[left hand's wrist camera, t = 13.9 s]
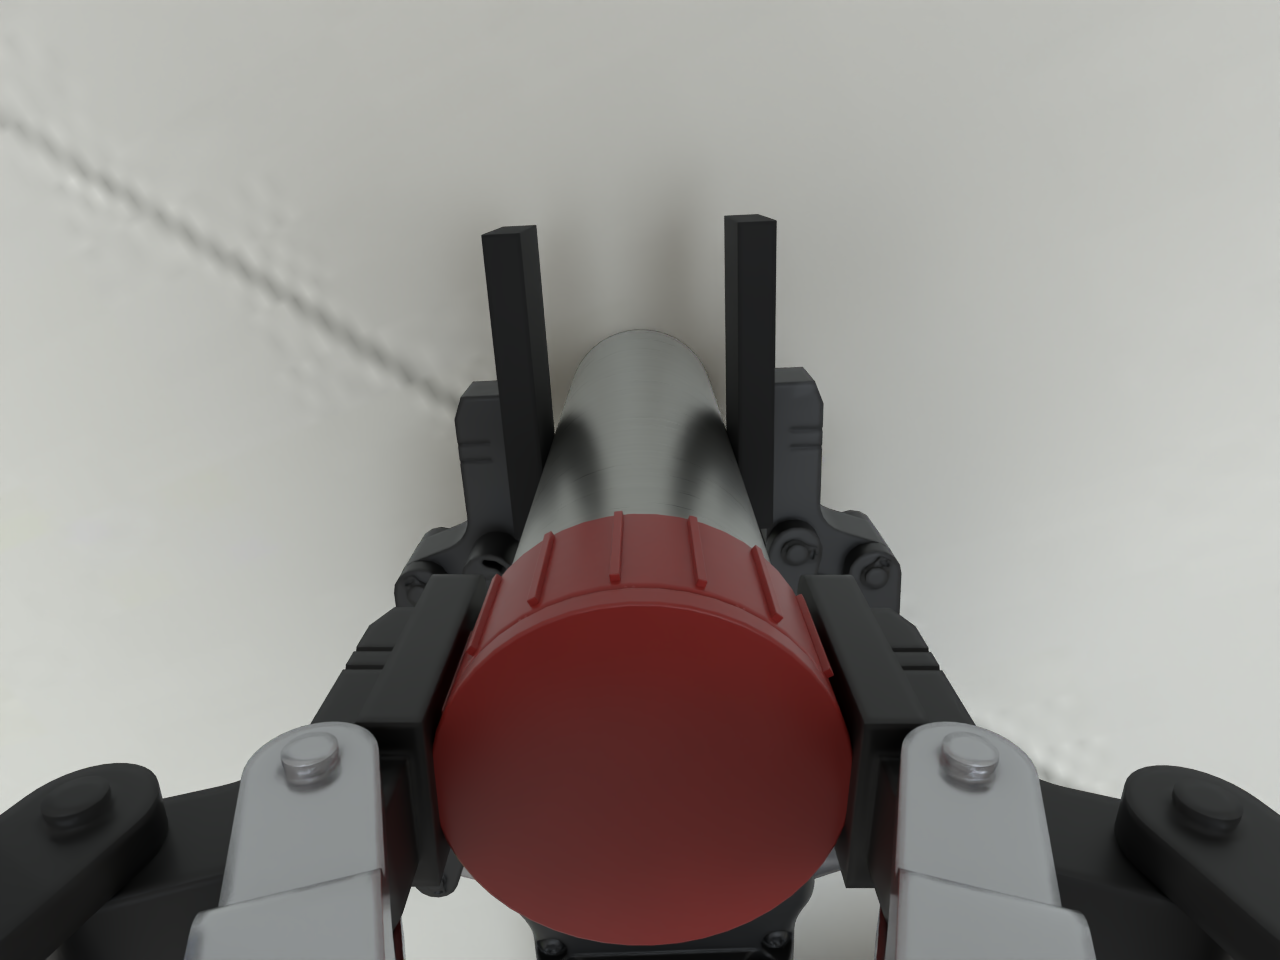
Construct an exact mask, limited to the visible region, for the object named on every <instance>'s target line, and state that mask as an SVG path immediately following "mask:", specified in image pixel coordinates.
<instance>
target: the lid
mask: <svg viewBox="0 0 1280 960" xmlns="http://www.w3.org/2000/svg"><path fill="white" fill-rule="evenodd" d="M833 675H834V674H833V671H832V669H831V666H830V663H829V661H828V658H827V656H826V653H825V651H824V648H823V645H822V643H821V640H820V638H819V635H818V632H817V630H816V627H815V625H814V622H813V619H812V617H811V614H810V612H809V609H808V606H807V604H806V601H805V599H804V597H803V595H802V594H799V595H797V596H796V595H795V594H794V592H793V590H792V588H791V587H790V586H789V584H788V583H787V582H786V580H785V579H784V578H783V577H782V575H781V574H780V573H779V571H778V570H777V569H776V568H774V567H773V566H772V565H771V564H770V563H769V562H768V561H767V560H766V559H765V558H764V555H763V552H762V549H761V548H759V547H758V546H757V545H755V546H754V547H753V548H751V547H750V546H748V545H747V544H746V543H744V542H742V541H741V540H739V539H737V538H735V537H733V536H731V535H730V534H728V533H726V532H724V531H721V530H719V529H716V528H714V527H711V526H709V525H706V524H704V523H700V522H698V520H697V517H694V516H690V515H689V517H688V519H685V518H681V517H675V516H667V515H659V514H626V515H623V511H615V512H614V516H608V517H603V518H599V519H595V520H591V521H587V522H583V523H580V524H578V525H575V526H572V527H570V528H567V529H564V530H562V531H560V532H558V533H556V534H553V533H552V531H550V532H548V533H546V534H545V535H544V538H543V541H541V542H540V543H538V544H537V545H536V546H534V547H533V548H531V549H530V550H529V551H527V552H526V553H524V554H523V555H522V556H521V557H520V558H519V559H518V560H517V561H515V562H514V563H513V564H512V565H511V566H510V567H509V568H508V569H507V570H506V571H505V573H504V574H503V575H502V576H500V575H498V574H496V575H495V576H494V577H493V579H492V581H491V584H490V586H489V589H488V592H487V595H486V597H485V600H484V603H483V606H482V608H481V611H480V613H479V616H478V618H477V621H476V623H475V626H474V629H473V631H471V632H470V635H469V638H468V640H467V643H466V646H465V648H464V651H463V654H462V657H461V659H460V662H459V665H458V667H457V670H456V673H455V676H454V678H453V681H452V684H451V686H450V689H449V692H448V695H447V697H446V700H445V703H444V705H443V708H442V716H441V718H440V721H439V724H438V726H437V729H436V733H435V737H434V742H433V763H434V772H435V781H436V791H437V800H438V809H439V818H440V825H441V829H442V831H443V833H444V836H445V838H446V840H447V842H448V844H449V845H450V847H451V849H452V850H453V852H454V853H455V855H456V857H457V858H458V860H459V861H460V863H461V864H462V865H463V866H464V867H465V869H466V870H467V871H468V872H469V873H470V875H471V876H472V877H473V878H474V879H475V880H476V881H477V882H478V883H479V884H480V885H481V886H482V887H483V888H485V889H486V890H487V891H488V892H489V893H490V894H491V895H492V896H494V897H495V898H496V899H498V900H499V901H501V902H502V903H503V904H505V905H506V906H508V907H509V908H510V909H512V910H514V911H516V912H517V913H519V914H521V915H523V916H524V917H526V918H528V919H530V920H531V921H534V922H536V923H538V924H541V925H543V926H545V927H548V928H550V929H552V930H555V931H558V932H561V933H565V934H568V935H571V936H574V937H578V938H582V939H587V940H592V941H597V942H602V943H611V944H620V945H663V944H674V943H682V942H687V941H692V940H697V939H703V938H706V937H710V936H713V935H716V934H720V933H723V932H726V931H729V930H731V929H734V928H736V927H739V926H741V925H744V924H746V923H748V922H751V921H752V920H754V919H756V918H758V917H760V916H762V915H763V914H765V913H767V912H769V911H771V910H772V909H774V908H775V907H776V906H778V905H779V904H781V903H782V902H784V901H785V900H786V899H788V898H789V897H791V896H792V895H793V894H794V893H795V892H796V891H797V890H799V889H800V888H801V887H802V886H803V885H804V884H805V883H806V882H807V881H808V880H809V879H810V878H811V877H812V876H813V875H814V873H815V872H816V871H817V870H818V869H819V868H820V867H821V865H822V864H823V863H824V861H825V860H826V858H827V857H828V855H829V854H830V852H831V851H832V849H833V848H834V846H835V844H836V842H837V840H838V838H839V836H840V834H841V832H842V829H843V827H844V825H845V819H846V811H847V802H848V793H849V784H850V775H851V765H852V745H851V741H850V736H849V732H848V729H847V726H846V724H845V721H844V718H843V716H842V713H841V710H840V708H839V705H838V702H837V700H836V697H835V694H834V691H833V689H832V686H831V683H830V681H829V677H831V676H833Z"/></svg>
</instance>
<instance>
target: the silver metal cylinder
mask: <svg viewBox="0 0 1280 960" xmlns="http://www.w3.org/2000/svg"><path fill="white" fill-rule="evenodd" d="M615 511H623V515H626V514H659V515H667V516H675V517H681V518H685V519H688V517H689V515H690V516H694V517H697V520H698V522H700V523H704V524H706V525H709V526H711V527H714V528H716V529H719V530H721V531H724V532H726V533H728V534H730V535H731V536H733V537H735V538H737V539H739V540H741V541H742V542H744V543H746V544H747V545H748V546H750V547H751V548H753V547H754V546H755V545H757V546H758V547H759V548H761V549H762V552H763V555H764V558H765V559H766V560H767V561H768V562H769V563H770V560H769V557H768V554H767V551H766V548H765V545H764V542H763V539H762V536H761V533H760V530H759V527H758V524H757V521H756V518H755V515H754V512H753V509H752V506H751V503H750V500H749V497H748V494H747V491H746V488H745V485H744V482H743V479H742V476H741V473H740V470H739V467H738V464H737V461H736V458H735V455H734V452H733V449H732V446H731V443H730V441H729V438H728V435H727V432H726V429H725V426H724V423H723V420H722V417H721V414H720V411H719V408H718V405H717V402H716V399H715V396H714V393H713V390H712V387H711V384H710V381H709V378H708V375H707V373H706V370H705V368H704V366H703V365H702V363H701V361H700V360H699V359H698V357H697V356H696V355H695V353H694V352H693V351H692V350H691V349H690V348H689V347H687V346H686V345H685V344H683V343H682V342H681V341H679V340H677V339H676V338H674V337H672V336H669V335H667V334H664V333H661V332H657V331H651V330H631V331H625V332H622V333H618V334H615V335H613V336H611V337H609V338H607V339H605V340H603V341H601V342H600V343H599V344H598V345H596V346H595V347H594V348H593V349H592V350H591V351H590V352H589V353H588V354H587V355H586V356H585V357H584V359H583V360H582V362H581V363H580V365H579V367H578V369H577V371H576V373H575V376H574V378H573V381H572V384H571V387H570V390H569V394H568V397H567V400H566V403H565V406H564V409H563V412H562V415H561V418H560V421H559V424H558V427H557V430H556V433H555V436H554V439H553V442H552V445H551V448H550V451H549V454H548V457H547V460H546V463H545V466H544V470H543V473H542V476H541V479H540V482H539V485H538V488H537V491H536V494H535V497H534V500H533V503H532V506H531V509H530V512H529V515H528V518H527V521H526V524H525V527H524V530H523V533H522V536H521V539H520V542H519V546H518V549H517V552H516V555H515V558H514V561H513V563H514V562H515V561H517V560H518V559H519V558H520V557H521V556H522V555H523V554H524V553H526V552H527V551H529V550H530V549H531V548H533V547H534V546H536V545H537V544H538V543H540V542H541V541H543V538H544V535H545V534H546V533H548V532H550V531H552V533H553V534H556V533H558V532H560V531H562V530H564V529H567V528H570V527H572V526H575V525H578V524H580V523H583V522H587V521H591V520H595V519H599V518H603V517H608V516H614V512H615ZM770 564H771V563H770Z"/></svg>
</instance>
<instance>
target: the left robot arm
mask: <svg viewBox="0 0 1280 960" xmlns="http://www.w3.org/2000/svg"><path fill="white" fill-rule="evenodd" d="M799 594H802V595H803V597H804V599H805V601H806V604H807V606H808V609H809V612H810V614H811V617H812V619H813V622H814V625H815V627H816V630H817V632H818V635H819V638H820V640H821V643H822V645H823V648H824V651H825V653H826V656H827V658H828V661H829V663H830V666H831V669H832V671H833V674H834V675H833V676H831V677H829V681H830V683H831V686H832V689H833V691H834V694H835V697H836V700H837V702H838V705H839V708H840V710H841V713H842V716H843V718H844V721H845V724H846V726H847V729H848V732H849V736H850V741H851V745H852V765H851V775H850V784H849V793H848V802H847V811H846V819H845V825H844V827H843V829H842V832H841V834H840V836H839V838H838V840H837V842H836V844H835V846H834V848H835V852H836V855H837V859H838V862H839V866H840V869H841V873H842V876H843V880H844V883H845V886H846V888H875V891H876V894H877V897H878V900H879V903H880V911H879V918H878V925H877V933H876V945H875V959H874V960H1280V815H1279V814H1278V813H1276V812H1275V811H1273V810H1272V809H1271V808H1269V807H1268V806H1267V805H1265V804H1264V803H1262V802H1261V801H1260V800H1258V799H1257V798H1255V797H1254V796H1252V795H1251V794H1249V793H1248V792H1246V791H1245V790H1243V789H1241V788H1239V787H1237V786H1235V785H1234V784H1232V783H1229V782H1227V781H1225V780H1223V779H1221V778H1218V777H1215V776H1213V775H1210V774H1207V773H1204V772H1201V771H1197V770H1193V769H1189V768H1184V767H1178V766H1168V765H1156V766H1149V767H1144V768H1141V769H1138V770H1137V771H1135V772H1133V773H1132V774H1131V775H1130V776H1129V777H1128V778H1127V780H1126V782H1125V785H1124V789H1123V793H1122V797H1121V799H1117V798H1112V797H1108V796H1103V795H1098V794H1094V793H1089V792H1085V791H1080V790H1075V789H1071V788H1066V787H1063V786H1059V785H1055V784H1052V783H1049V782H1046V781H1043V780H1040V779H1039V777H1038V773H1037V770H1036V767H1035V766H1034V764H1033V762H1032V760H1031V759H1030V758H1029V757H1028V756H1027V754H1026V753H1025V752H1024V751H1022V750H1021V749H1020V748H1019V747H1018V746H1017V745H1015V744H1014V743H1012V742H1011V741H1009V740H1008V739H1006V738H1004V737H1002V736H1001V735H999V734H997V733H994V732H992V731H990V730H987V729H984V728H981V727H978V726H976V725H975V724H974V722H973V720H972V719H971V717H970V715H969V714H968V712H967V710H966V709H965V707H964V705H963V704H962V702H961V701H960V699H959V697H958V696H957V694H956V692H955V691H954V689H953V687H952V686H951V684H950V682H949V681H948V679H947V678H946V676H945V674H944V673H943V671H942V670H940V669H939V664H938V663H937V661H936V659H935V658H934V656H933V654H932V653H931V652H929V651H928V646H927V645H926V643H925V641H924V640H923V638H922V636H921V635H920V633H919V631H918V630H917V628H916V627H915V626H914V625H913V624H911V623H910V622H909V621H907V620H906V619H905V618H903V617H902V616H900V615H899V614H898V613H896V612H895V611H893V610H892V609H891V608H870V607H869V605H868V603H867V601H866V599H865V597H864V595H863V593H862V592H861V590H860V588H859V586H858V584H857V582H856V580H855V578H854V577H853V576H852V575H801V576H800V578H799V582H798V587H797V595H799ZM486 595H487V586H486V580H485V577H484V575H483V574H433V575H432V576H431V577H430V579H429V581H428V582H427V584H426V586H425V588H424V590H423V592H422V594H421V596H420V598H419V600H418V602H417V604H416V606H415V607H394V608H393V609H392V610H390V611H389V612H387V613H386V614H385V615H383V616H382V617H381V618H379V619H378V620H376V621H375V622H374V623H372V624H371V625H370V626H369V627H368V629H367V630H366V632H365V634H364V635H363V637H362V639H361V640H360V642H359V644H358V645H357V649H356V651H354V652H353V654H352V655H351V657H350V659H349V660H348V662H347V664H346V669H345V670H342V672H341V674H340V675H339V677H338V679H337V680H336V682H335V684H334V685H333V687H332V689H331V690H330V692H329V694H328V695H327V697H326V699H325V701H324V702H323V704H322V706H321V707H320V709H319V711H318V712H317V714H316V716H315V717H314V719H313V721H312V722H311V724H310V725H306V726H302V727H299V728H296V729H293V730H290V731H288V732H286V733H283V734H281V735H279V736H278V737H276V738H274V739H272V740H271V741H269V742H268V743H266V744H265V745H263V746H262V747H261V748H260V749H259V750H258V751H256V752H255V753H254V754H253V756H252V757H251V758H250V759H249V760H248V762H247V764H246V766H245V767H244V770H243V773H242V777H241V780H240V781H237V782H234V783H231V784H227V785H223V786H219V787H214V788H210V789H205V790H201V791H196V792H191V793H187V794H182V795H177V796H173V797H168V798H164V799H162V795H161V791H160V787H159V783H158V780H157V778H156V776H155V775H154V773H153V772H152V771H150V770H149V769H147V768H145V767H143V766H140V765H136V764H129V763H112V764H103V765H98V766H93V767H88V768H85V769H81V770H78V771H75V772H72V773H70V774H67V775H64V776H62V777H60V778H57V779H55V780H53V781H51V782H49V783H47V784H45V785H43V786H42V787H40V788H38V789H36V790H35V791H33V792H32V793H30V794H29V795H27V796H26V797H24V798H23V799H22V800H20V801H19V802H18V803H16V804H15V805H13V806H12V807H11V808H9V809H8V810H7V811H5V812H4V813H2V814H1V815H0V960H406V959H405V945H404V933H403V925H402V918H401V916H402V913H403V911H404V908H405V904H406V901H407V898H408V895H409V892H410V889H411V887H440V883H441V880H442V876H443V873H444V869H445V865H446V862H447V858H448V855H449V851H450V848H451V847H450V845H449V844H448V842H447V840H446V838H445V836H444V833H443V831H442V829H441V825H440V818H439V809H438V800H437V791H436V781H435V772H434V763H433V742H434V737H435V733H436V729H437V726H438V724H439V721H440V718H441V716H442V708H443V705H444V703H445V700H446V697H447V695H448V692H449V689H450V686H451V684H452V681H453V678H454V676H455V673H456V670H457V667H458V665H459V662H460V659H461V657H462V654H463V651H464V648H465V646H466V643H467V640H468V638H469V635H470V632H471V631H473V629H474V626H475V623H476V621H477V618H478V616H479V613H480V611H481V608H482V606H483V603H484V600H485V597H486Z"/></svg>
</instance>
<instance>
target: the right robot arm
mask: <svg viewBox="0 0 1280 960" xmlns="http://www.w3.org/2000/svg"><path fill="white" fill-rule="evenodd" d="M776 228H777V221H776V220H773V219H771V218H768V217H765V216H762V215H759V214H752V215H731V216H724V231H725V333H726V432H727V435H728V438H729V441H730V443H731V446H732V449H733V452H734V455H735V458H736V461H737V464H738V467H739V470H740V473H741V476H742V479H743V482H744V485H745V488H746V491H747V494H748V497H749V500H750V503H751V506H752V509H753V512H754V515H755V518H756V521H757V524H758V527H759V530H760V533H761V536H762V539H763V542H764V545H765V548H766V551H767V554H768V557H769V560H770V563H771V565H772V566H773V567H774V568H776V569H777V570H778V571H779V573H780V574H781V575H782V577H783V578H784V579H785V580H786V582H787V583H788V584H789V586H790V587H791V588H792V590H793V592H794V594H795V595H796V596H797V587H798V582H799V578H800V576H801V575H852V576H853V577H854V578H855V580H856V582H857V584H858V586H859V588H860V590H861V592H862V593H863V595H864V597H865V599H866V601H867V603H868V605H869V607H870V608H891V609H892V610H893V611H895V612H896V613H898V614H899V613H900V592H901V569H900V564H899V563H898V561H897V560H896V558H895V557H894V555H893V553H892V552H891V550H890V549H889V547H888V546H887V544H886V543H885V541H884V540H883V538H882V537H881V535H880V534H879V532H878V531H877V529H876V528H875V526H874V525H873V523H872V522H871V521H870V519H869V518H868V516H867V515H865V514H863V513H861V512H860V511H853V510H849V511H845V512H839V511H835V510H832V509H829V508H826V507H824V506H822V505H821V504H820V491H821V461H822V447H821V446H822V427H823V401H822V399H821V396H820V393H819V391H818V388H817V386H816V383H815V381H814V380H813V379H812V377H811V376H810V375H809V374H808V373H807V371H806V370H805V369H804V368H803V367H791V368H775V316H776ZM481 237H482V246H483V255H484V264H485V273H486V283H487V292H488V301H489V310H490V319H491V328H492V337H493V346H494V355H495V364H496V373H497V381H478V382H473V383H472V384H471V385H470V386H469V388H468V389H467V390H466V391H465V393H464V394H463V395H462V396H461V398H460V402H459V405H458V409H457V413H456V416H455V427H456V434H457V442H458V450H459V457H460V461H461V464H460V465H461V473H462V480H463V488H464V495H465V503H466V511H467V521H465V522H463V523H462V524H459V525H457V526H454V527H452V528H443V527H439V528H435V529H432V530H430V531H429V532H427V533H426V534H425V535H424V537H423V539H422V540H421V542H420V543H419V544H418V546H417V548H416V549H415V551H414V553H413V554H412V556H411V558H410V559H409V561H408V563H407V564H406V566H405V568H404V569H403V571H402V574H401V575H400V577H399V579H398V580H397V582H396V584H395V590H394V596H395V603H396V607H415V606H416V604H417V602H418V600H419V598H420V596H421V594H422V592H423V590H424V588H425V586H426V584H427V582H428V581H429V579H430V577H431V576H432V575H433V574H483V575H484V577H485V580H486V586H487V592H488V589H489V586H490V584H491V581H492V579H493V577H494V576H495V575H496V574H498V575H500V576H502V575H503V574H504V573H505V571H506V570H507V569H508V568H509V567H510V566H511V565H512V564H513V561H514V558H515V555H516V552H517V549H518V546H519V542H520V539H521V536H522V533H523V530H524V527H525V524H526V521H527V518H528V515H529V512H530V509H531V506H532V503H533V500H534V497H535V494H536V491H537V488H538V485H539V482H540V479H541V476H542V473H543V470H544V466H545V463H546V460H547V457H548V454H549V451H550V448H551V445H552V442H553V439H554V436H555V433H554V422H553V410H552V399H551V388H550V376H549V365H548V353H547V342H546V331H545V319H544V308H543V296H542V285H541V273H540V262H539V251H538V239H537V228H536V225H529V226H508V227H501V228H499V229H496V230H493V231H491V232H488V233H485V234H483V235H481ZM840 870H841V869H840V866H839V862H838V859H837V855H836V852H835V848H833V849H832V851H831V852H830V854H829V855H828V857H827V858H826V860H825V861H824V863H823V864H822V865H821V867H820V868H819V869H818V870H817V871H816V872H815V873H814V875H813V876H812V877H811V878H810V879H809V880H808V881H807V882H806V883H805V884H804V885H803V886H802V887H801V888H800V889H799V890H797V891H796V892H795V893H794V894H793V895H792V896H791V897H789V898H788V899H786V900H785V901H784V902H782V903H781V904H779V905H778V906H776V907H775V908H774V909H772V910H771V911H769V912H767V913H765V914H763V915H762V916H760V917H758V918H756V919H754V920H752V921H751V922H748V923H746V924H744V925H741V926H739V927H736V928H734V929H731V930H729V931H726V932H723V933H720V934H716V935H713V936H710V937H706V938H703V939H697V940H692V941H687V942H682V943H674V944H663V945H620V944H611V943H602V942H597V941H592V940H587V939H582V938H578V937H574V936H571V935H568V934H565V933H561V932H558V931H555V930H552V929H550V928H548V927H545V926H543V925H541V924H538V923H536V922H534V921H531V920H530V919H528V918H526V917H524V916H523V915H521V914H520V915H521V916H522V917H523V918H524V919H525V920H526V922H527V923H528V924H529V926H530V927H531V929H532V932H533V935H534V940H535V949H536V957H537V960H793V953H794V926H795V921H796V919H797V917H798V915H799V913H800V911H801V910H802V909H803V907H804V906H805V905H806V904H807V902H808V901H809V899H810V897H811V895H812V892H813V889H814V879H815V878H818V877H821V876H825V875H828V874H831V873H834V872H837V871H840ZM460 876H463V877H466V878H470V879H474V878H473V877H472V876H471V875H470V873H469V872H468V871H467V870H466V869H465V867H464V866H463V865H462V864H461V863H460V861H459V860H458V858H457V857H456V855H455V853H454V852H453V850H452V849H451V848H450V851H449V855H448V858H447V862H446V865H445V869H444V873H443V876H442V880H441V883H440V887H416V888H417V889H418V890H419V891H420V892H421V893H423V894H425V895H428V896H430V897H443V896H447V895H449V894H450V893H452V892H454V890H455V889H456V887H457V885H458V882H459V879H460ZM474 880H475V879H474Z"/></svg>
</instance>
